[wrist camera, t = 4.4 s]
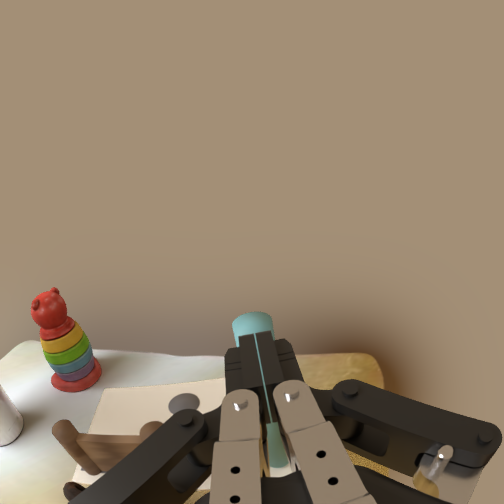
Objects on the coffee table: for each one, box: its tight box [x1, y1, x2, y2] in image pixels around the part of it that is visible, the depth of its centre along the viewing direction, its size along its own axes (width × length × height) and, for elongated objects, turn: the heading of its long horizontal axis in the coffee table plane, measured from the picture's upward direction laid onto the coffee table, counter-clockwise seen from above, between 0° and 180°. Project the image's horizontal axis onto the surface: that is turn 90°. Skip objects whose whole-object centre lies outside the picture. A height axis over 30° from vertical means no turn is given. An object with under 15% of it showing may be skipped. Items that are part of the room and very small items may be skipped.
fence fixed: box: [52, 420, 163, 476], centre depth 27 cm, size 15×3×8 cm, turn 96°
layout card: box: [72, 378, 292, 491], centre depth 35 cm, size 29×20×1 cm
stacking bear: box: [31, 287, 101, 392], centre depth 45 cm, size 11×10×18 cm
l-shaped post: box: [232, 312, 289, 468], centre depth 26 cm, size 12×3×20 cm, turn 96°
